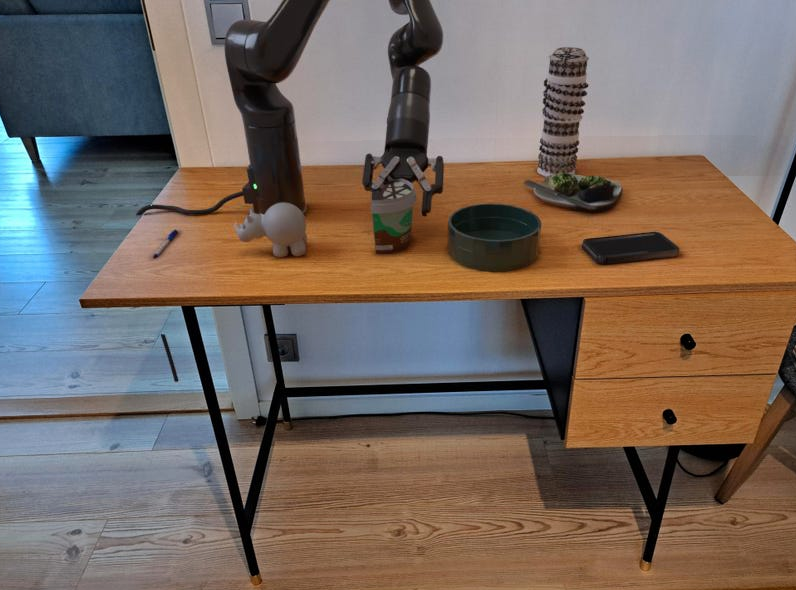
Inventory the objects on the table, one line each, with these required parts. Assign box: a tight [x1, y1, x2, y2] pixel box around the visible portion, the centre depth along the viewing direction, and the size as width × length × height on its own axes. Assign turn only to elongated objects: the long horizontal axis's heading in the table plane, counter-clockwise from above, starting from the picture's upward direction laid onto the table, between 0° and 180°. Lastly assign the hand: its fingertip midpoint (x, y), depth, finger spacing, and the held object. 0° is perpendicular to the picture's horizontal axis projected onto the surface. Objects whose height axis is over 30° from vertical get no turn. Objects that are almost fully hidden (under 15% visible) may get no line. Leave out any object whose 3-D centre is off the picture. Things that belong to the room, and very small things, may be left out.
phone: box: [581, 231, 680, 265], centre depth 110 cm, size 8×1×15 cm
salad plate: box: [523, 172, 624, 213], centre depth 130 cm, size 19×18×5 cm
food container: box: [370, 176, 418, 255], centre depth 110 cm, size 12×6×10 cm, turn 168°
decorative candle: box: [536, 46, 590, 178], centre depth 136 cm, size 9×9×25 cm
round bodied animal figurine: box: [234, 203, 308, 258], centre depth 109 cm, size 7×12×8 cm, turn 93°
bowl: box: [447, 202, 542, 273], centre depth 109 cm, size 16×16×6 cm
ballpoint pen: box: [152, 229, 179, 259], centre depth 113 cm, size 10×1×1 cm, turn 179°
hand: (400, 213), depth 111 cm, fingers open, 8 cm apart
